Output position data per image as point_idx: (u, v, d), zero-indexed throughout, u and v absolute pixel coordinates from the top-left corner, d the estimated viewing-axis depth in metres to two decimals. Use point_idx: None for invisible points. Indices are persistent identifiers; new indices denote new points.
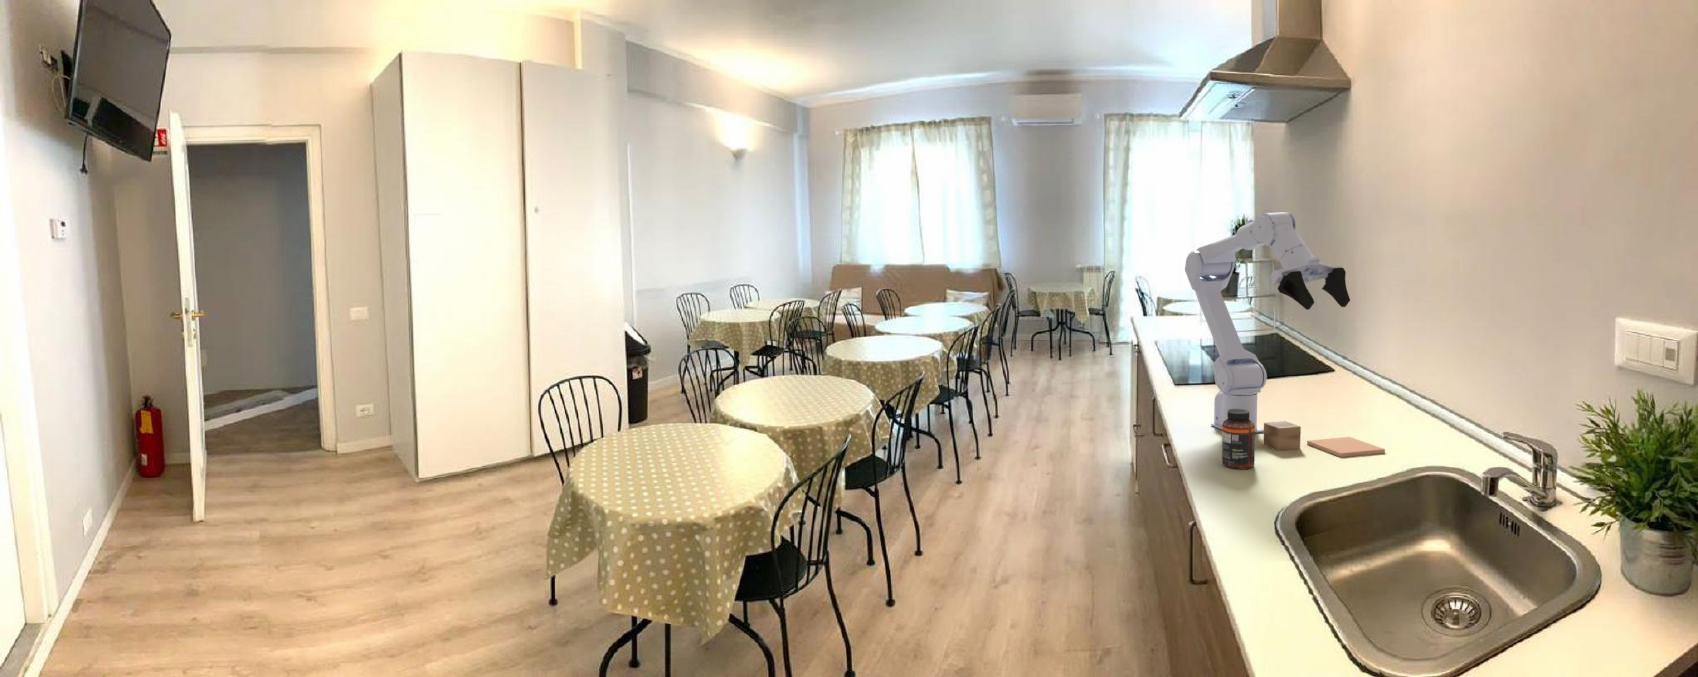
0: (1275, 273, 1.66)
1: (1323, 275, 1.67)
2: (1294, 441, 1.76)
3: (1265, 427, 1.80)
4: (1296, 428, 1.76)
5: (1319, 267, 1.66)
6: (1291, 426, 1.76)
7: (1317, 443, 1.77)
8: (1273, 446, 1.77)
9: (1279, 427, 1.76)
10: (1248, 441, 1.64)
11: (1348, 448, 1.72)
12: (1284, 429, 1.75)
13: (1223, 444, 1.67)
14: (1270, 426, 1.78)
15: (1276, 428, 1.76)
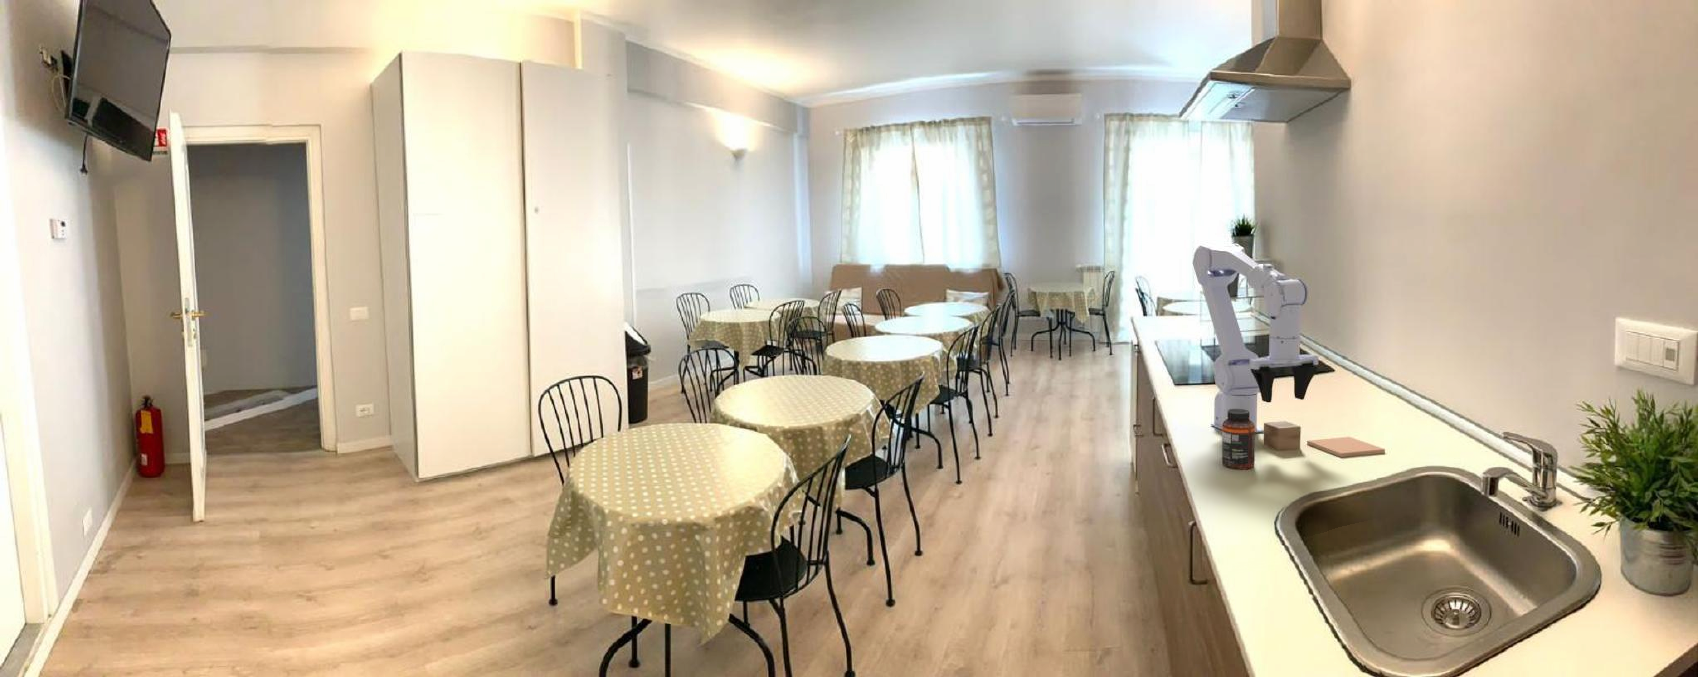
0: (1254, 363, 1.74)
1: (1297, 364, 1.76)
2: (1294, 441, 1.76)
3: (1265, 427, 1.80)
4: (1296, 428, 1.76)
5: None
6: (1291, 426, 1.76)
7: (1317, 443, 1.77)
8: (1273, 446, 1.77)
9: (1279, 427, 1.76)
10: (1248, 441, 1.64)
11: (1348, 448, 1.72)
12: (1284, 429, 1.75)
13: (1223, 444, 1.67)
14: (1270, 426, 1.78)
15: (1276, 428, 1.76)
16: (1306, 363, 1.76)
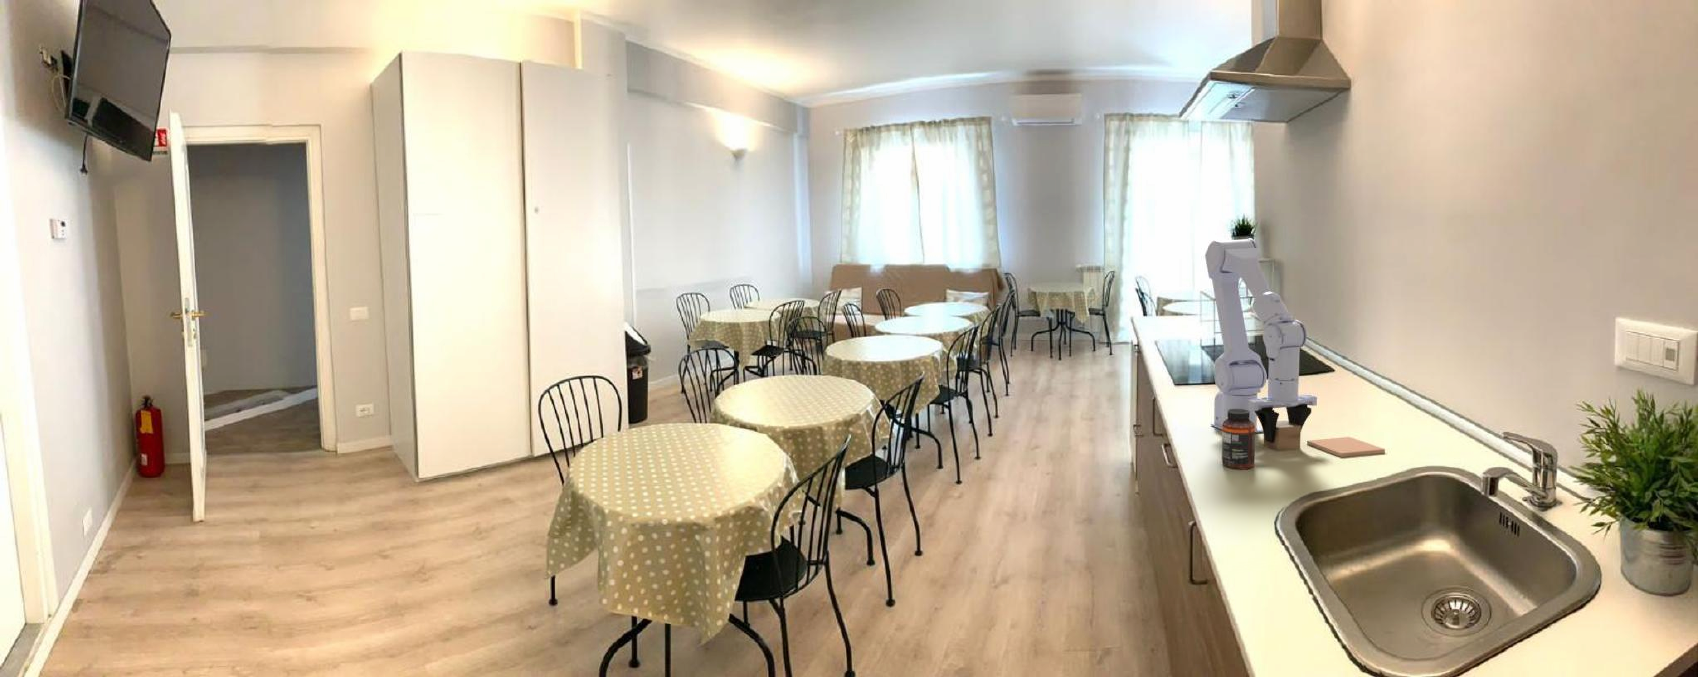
0: (1253, 404, 1.75)
1: (1296, 405, 1.77)
2: (1294, 440, 1.76)
3: None
4: (1296, 427, 1.76)
5: None
6: (1291, 425, 1.76)
7: (1317, 443, 1.77)
8: (1273, 445, 1.77)
9: (1279, 426, 1.76)
10: (1248, 441, 1.64)
11: (1348, 448, 1.72)
12: (1284, 428, 1.75)
13: (1223, 444, 1.67)
14: None
15: (1276, 427, 1.76)
16: (1305, 404, 1.77)
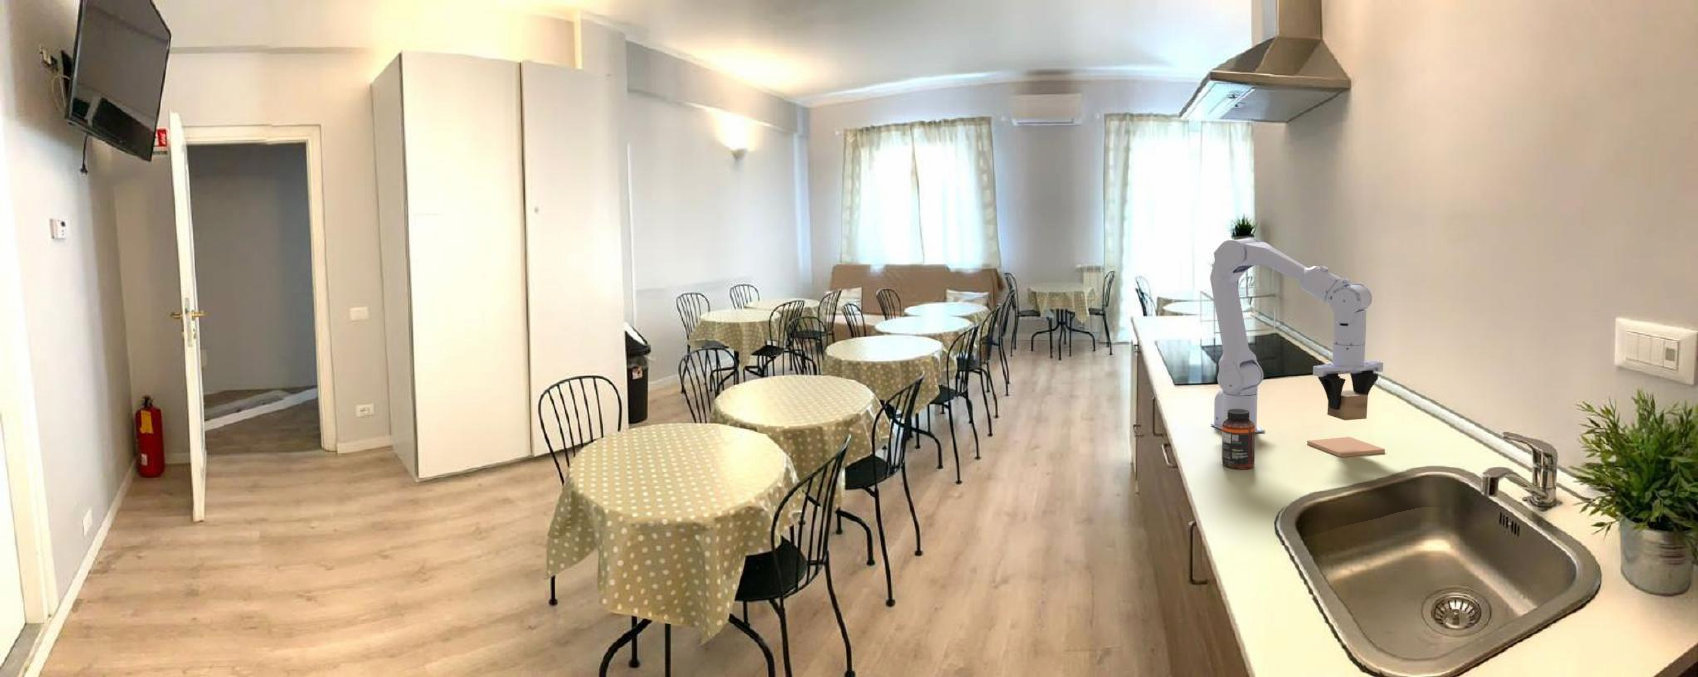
0: (1318, 370, 1.71)
1: (1361, 371, 1.73)
2: (1361, 410, 1.71)
3: None
4: (1363, 397, 1.71)
5: None
6: (1358, 394, 1.72)
7: (1317, 443, 1.77)
8: (1339, 415, 1.73)
9: (1346, 395, 1.71)
10: (1248, 441, 1.64)
11: (1348, 448, 1.72)
12: (1351, 397, 1.71)
13: (1223, 444, 1.67)
14: None
15: (1343, 396, 1.71)
16: (1370, 370, 1.73)
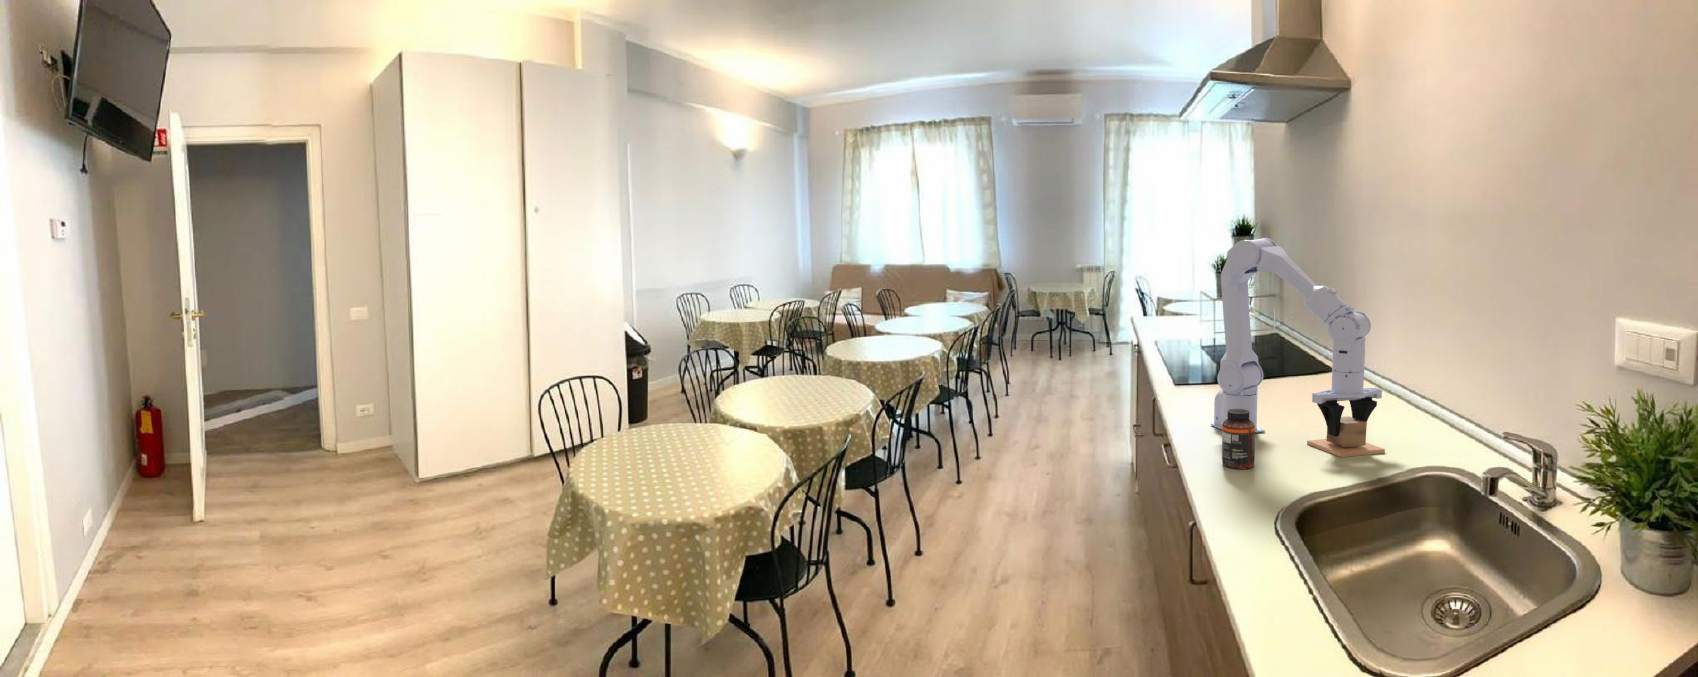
0: (1317, 397, 1.72)
1: (1360, 398, 1.74)
2: (1360, 437, 1.72)
3: None
4: (1362, 423, 1.72)
5: None
6: (1357, 421, 1.72)
7: (1317, 443, 1.77)
8: (1338, 442, 1.73)
9: (1345, 422, 1.72)
10: (1248, 441, 1.64)
11: (1348, 448, 1.72)
12: (1350, 424, 1.71)
13: (1223, 444, 1.67)
14: None
15: (1342, 423, 1.72)
16: (1369, 397, 1.74)
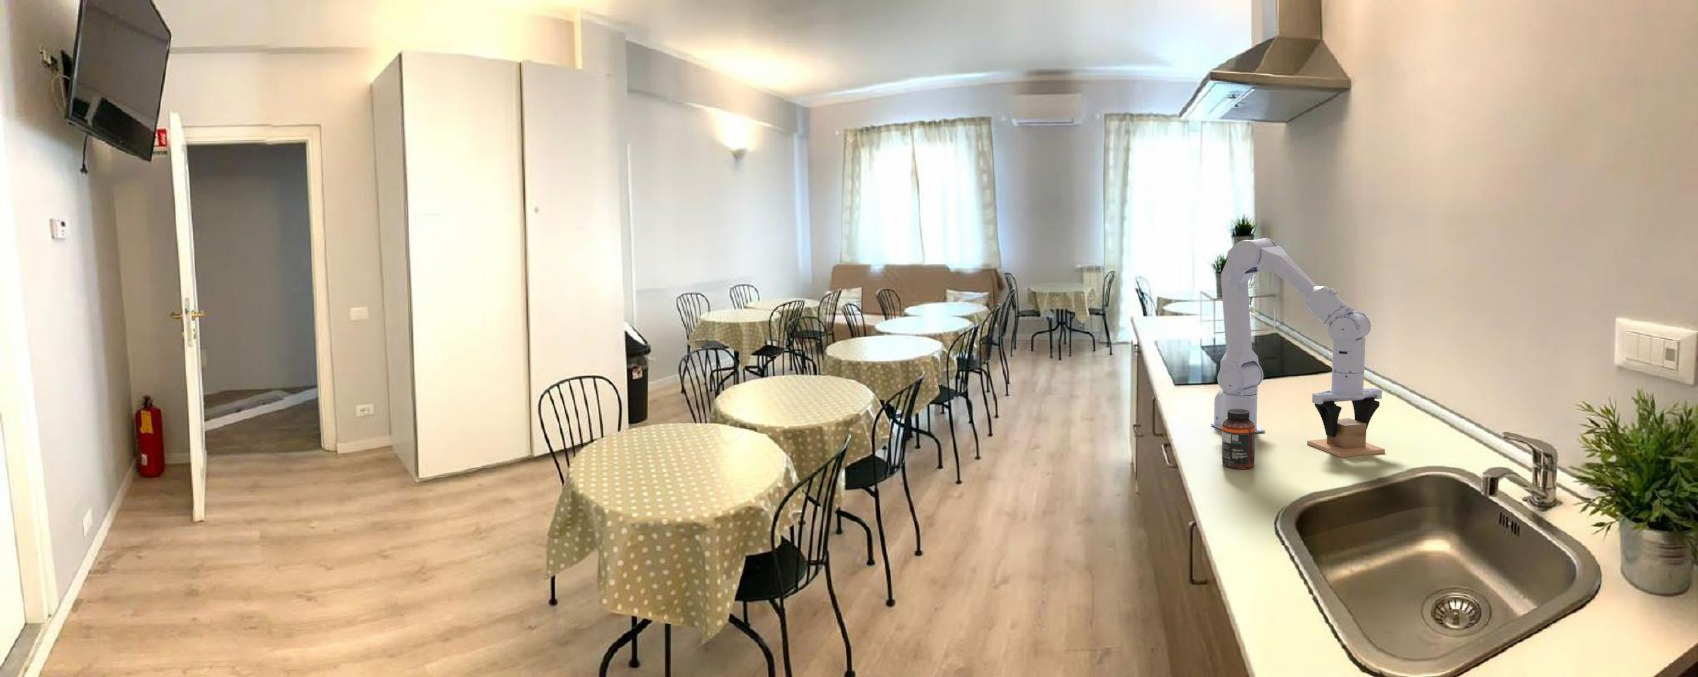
0: (1317, 398, 1.72)
1: (1360, 398, 1.74)
2: (1360, 439, 1.72)
3: None
4: (1362, 425, 1.72)
5: None
6: (1356, 423, 1.72)
7: (1317, 443, 1.77)
8: (1338, 444, 1.74)
9: (1344, 424, 1.72)
10: (1248, 441, 1.64)
11: None
12: (1350, 426, 1.72)
13: (1223, 444, 1.67)
14: None
15: (1341, 425, 1.72)
16: (1369, 397, 1.74)
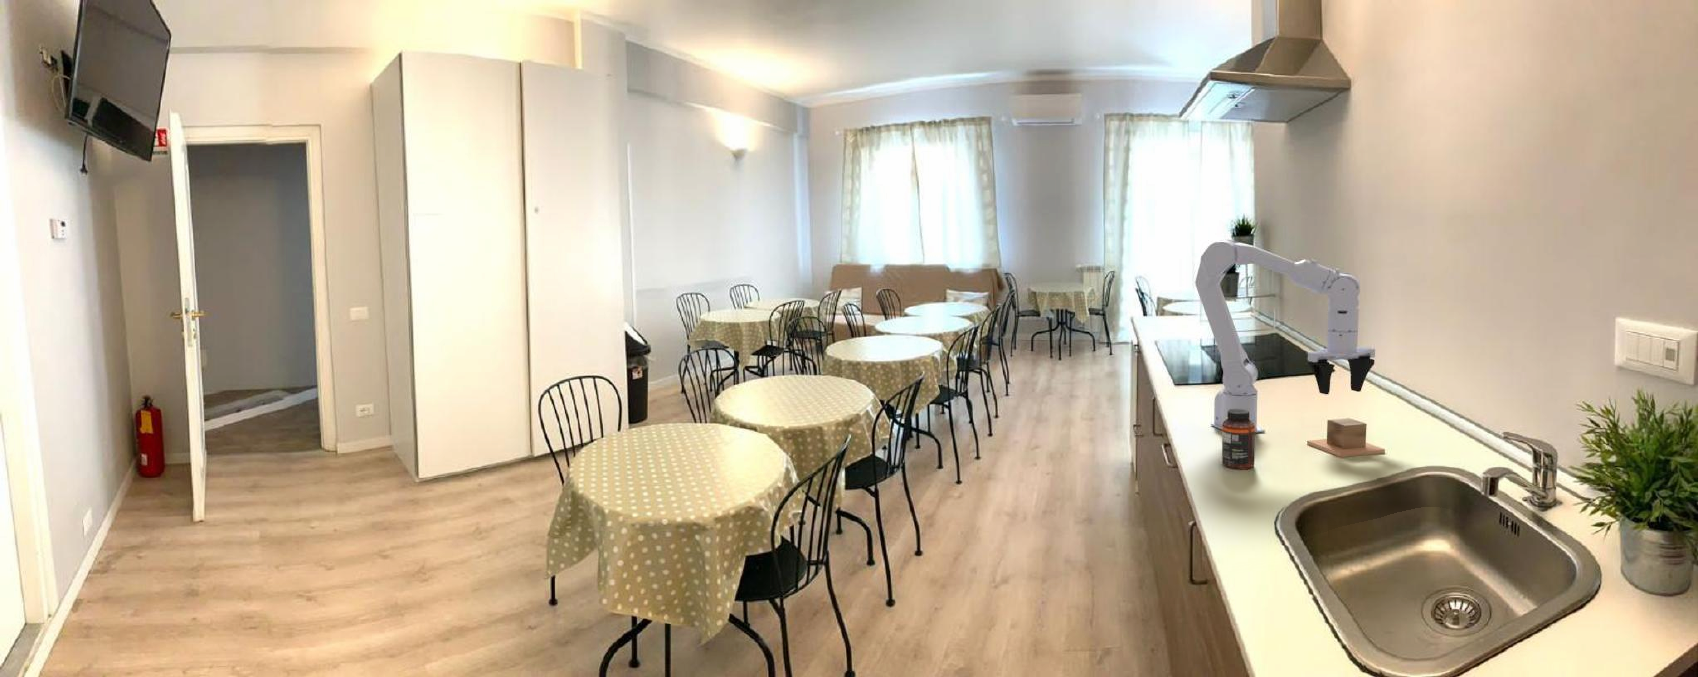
0: (1312, 356, 1.78)
1: (1354, 357, 1.80)
2: (1360, 439, 1.72)
3: (1329, 424, 1.76)
4: (1362, 425, 1.72)
5: None
6: (1356, 423, 1.72)
7: (1317, 443, 1.77)
8: (1338, 444, 1.74)
9: (1344, 424, 1.72)
10: (1248, 441, 1.64)
11: None
12: (1350, 426, 1.72)
13: (1223, 444, 1.67)
14: (1334, 423, 1.74)
15: (1341, 425, 1.72)
16: (1363, 356, 1.80)
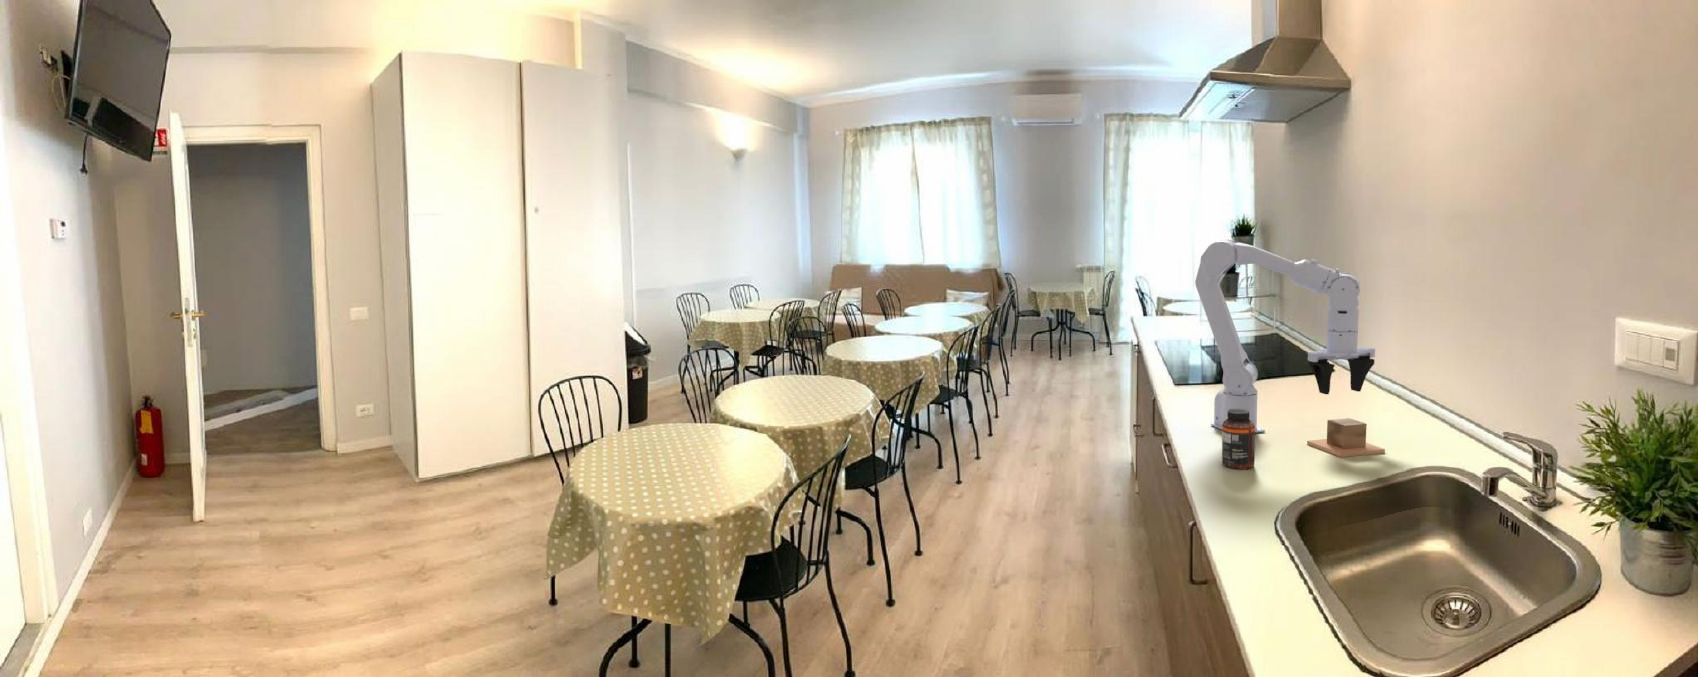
0: (1312, 356, 1.78)
1: (1354, 357, 1.80)
2: (1360, 439, 1.72)
3: (1329, 424, 1.76)
4: (1362, 425, 1.72)
5: None
6: (1356, 423, 1.72)
7: (1317, 443, 1.77)
8: (1338, 444, 1.74)
9: (1344, 424, 1.72)
10: (1248, 441, 1.64)
11: None
12: (1350, 426, 1.72)
13: (1223, 444, 1.67)
14: (1334, 423, 1.74)
15: (1341, 425, 1.72)
16: (1363, 356, 1.80)
